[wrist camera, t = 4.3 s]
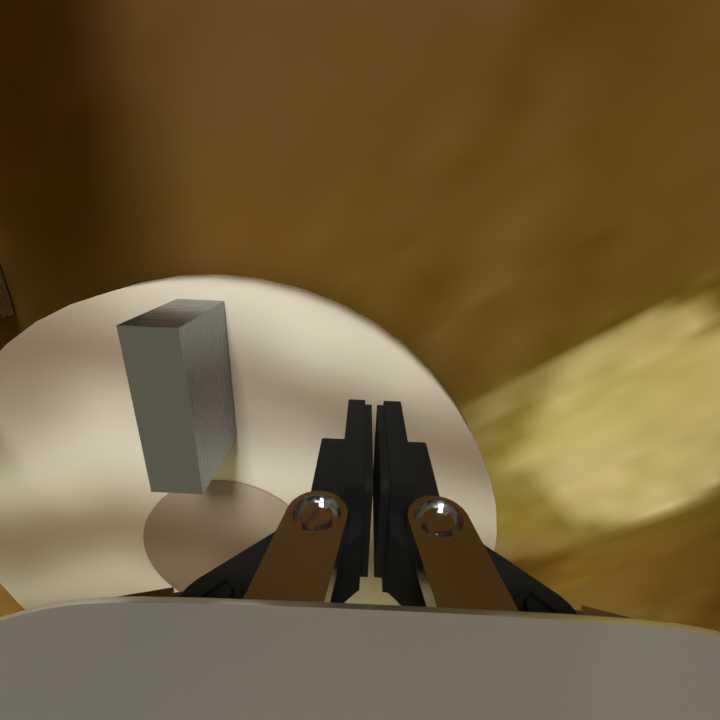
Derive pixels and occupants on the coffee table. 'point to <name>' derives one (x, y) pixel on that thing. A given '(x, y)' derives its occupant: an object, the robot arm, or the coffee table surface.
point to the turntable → (195, 431)
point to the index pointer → (4, 299)
